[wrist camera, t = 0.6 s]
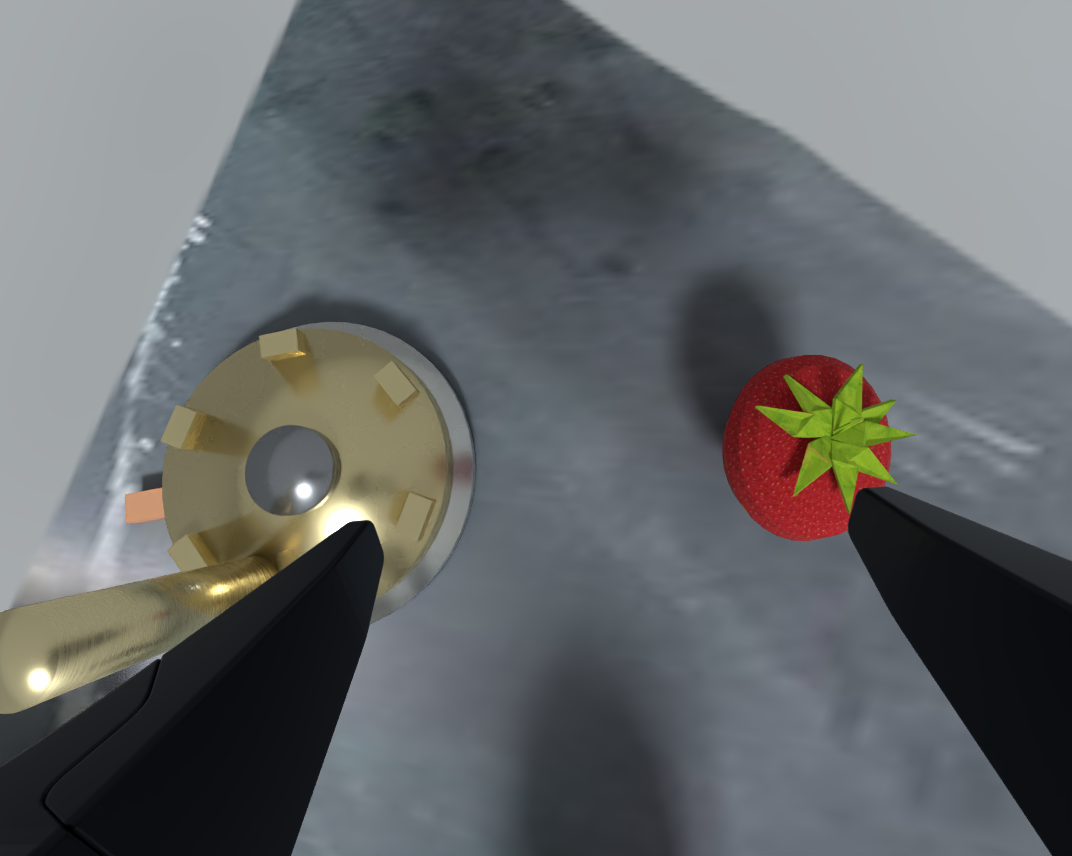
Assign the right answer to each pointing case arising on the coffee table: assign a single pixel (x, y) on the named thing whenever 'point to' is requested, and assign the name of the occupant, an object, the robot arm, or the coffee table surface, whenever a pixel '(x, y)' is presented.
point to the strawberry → (807, 445)
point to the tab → (144, 506)
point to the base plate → (458, 458)
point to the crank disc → (250, 504)
